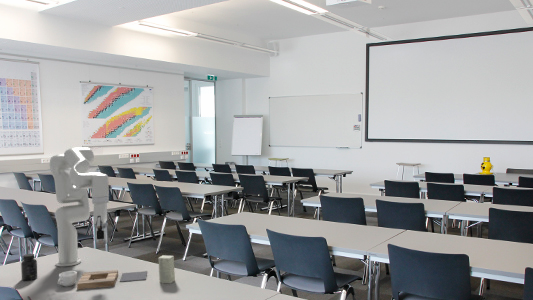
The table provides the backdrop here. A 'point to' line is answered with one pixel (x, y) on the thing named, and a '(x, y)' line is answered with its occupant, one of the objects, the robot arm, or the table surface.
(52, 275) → the table surface
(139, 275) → the mat
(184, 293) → the table surface
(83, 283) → the wooden square frame
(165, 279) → the skincare box
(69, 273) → the teacup
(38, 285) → the table surface
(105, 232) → the grey light bulb
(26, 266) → the supplement bottle
